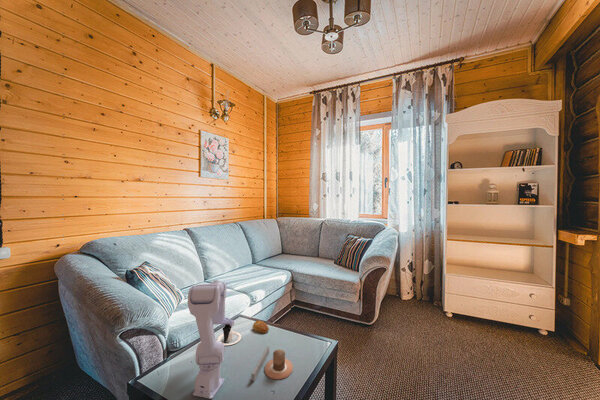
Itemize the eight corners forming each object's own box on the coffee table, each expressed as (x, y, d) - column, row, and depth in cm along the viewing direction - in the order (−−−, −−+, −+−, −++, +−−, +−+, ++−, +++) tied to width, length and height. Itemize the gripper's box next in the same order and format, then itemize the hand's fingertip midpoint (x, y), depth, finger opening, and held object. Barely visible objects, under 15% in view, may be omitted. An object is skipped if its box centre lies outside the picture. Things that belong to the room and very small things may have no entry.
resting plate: (288, 381, 98) (288, 379, 98) (260, 376, 100) (260, 374, 100) (295, 361, 109) (295, 360, 109) (270, 357, 112) (270, 356, 112)
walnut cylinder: (282, 372, 102) (283, 357, 102) (271, 370, 103) (271, 356, 103) (286, 364, 107) (286, 350, 107) (275, 362, 108) (275, 348, 108)
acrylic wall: (254, 381, 98) (254, 374, 97) (251, 380, 98) (251, 373, 98) (269, 352, 115) (269, 346, 115) (266, 352, 115) (266, 346, 115)
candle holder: (230, 330, 134) (230, 322, 134) (246, 337, 127) (246, 329, 127) (211, 341, 124) (212, 332, 124) (227, 349, 118) (227, 341, 117)
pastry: (271, 330, 134) (271, 323, 134) (262, 336, 129) (262, 329, 129) (260, 324, 140) (260, 318, 140) (251, 329, 135) (251, 322, 135)
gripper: (237, 307, 111) (237, 336, 112) (208, 303, 114) (208, 332, 115) (229, 314, 105) (229, 345, 105) (199, 310, 108) (199, 341, 108)
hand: (218, 339), depth 109 cm, fingers open, 7 cm apart
